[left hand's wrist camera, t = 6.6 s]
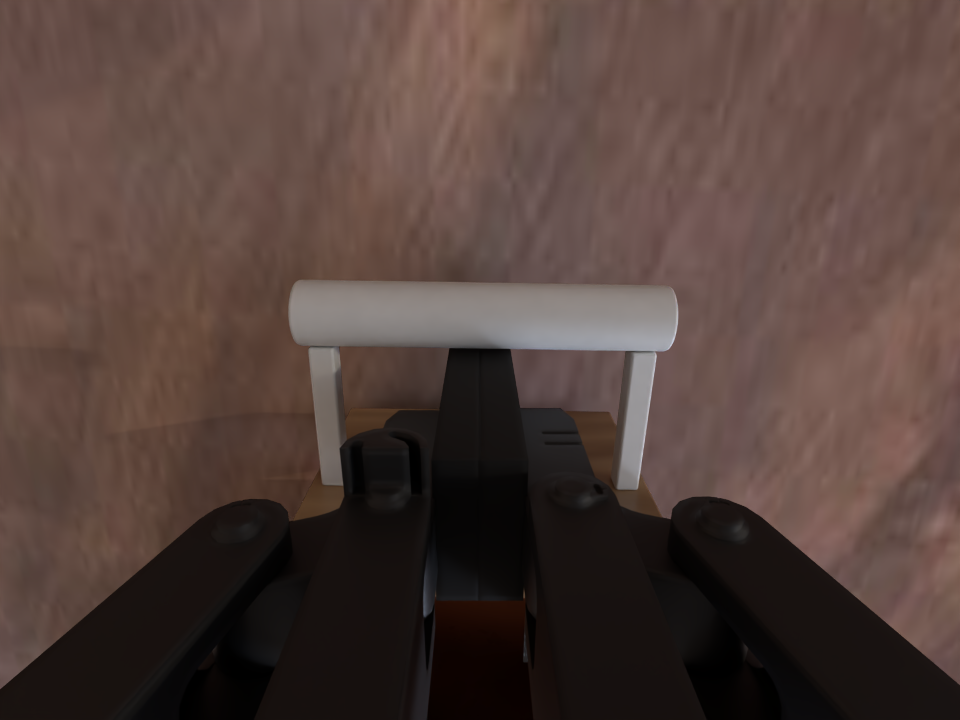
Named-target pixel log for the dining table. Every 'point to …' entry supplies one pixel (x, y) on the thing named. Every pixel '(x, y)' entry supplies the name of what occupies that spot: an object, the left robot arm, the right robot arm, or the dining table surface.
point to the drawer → (438, 324)
